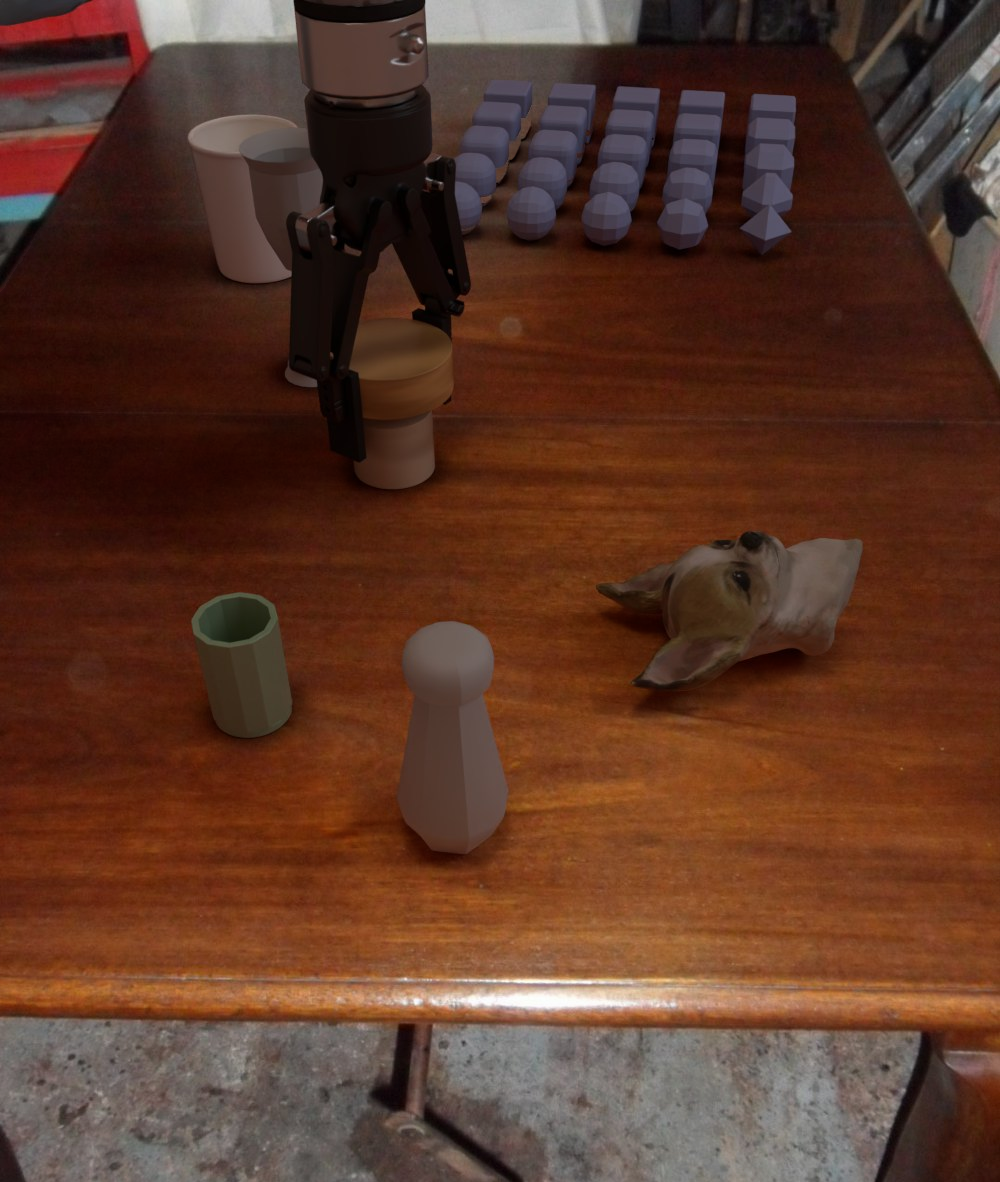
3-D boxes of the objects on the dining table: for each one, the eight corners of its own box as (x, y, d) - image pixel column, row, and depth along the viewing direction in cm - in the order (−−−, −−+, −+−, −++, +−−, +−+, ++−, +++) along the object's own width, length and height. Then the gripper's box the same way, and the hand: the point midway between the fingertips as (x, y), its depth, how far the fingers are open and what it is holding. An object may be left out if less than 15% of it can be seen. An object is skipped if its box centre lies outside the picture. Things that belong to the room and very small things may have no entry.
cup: (208, 692, 71) (187, 601, 66) (285, 677, 72) (269, 586, 67) (218, 745, 68) (196, 653, 63) (298, 728, 69) (283, 636, 64)
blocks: (788, 141, 137) (796, 95, 134) (787, 268, 113) (796, 215, 110) (491, 123, 142) (491, 78, 138) (428, 241, 118) (426, 190, 114)
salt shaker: (382, 849, 62) (361, 665, 53) (425, 774, 66) (413, 590, 57) (485, 880, 61) (482, 697, 52) (524, 802, 65) (527, 618, 56)
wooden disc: (315, 366, 86) (310, 327, 84) (435, 349, 88) (433, 310, 86) (340, 428, 80) (335, 388, 78) (468, 408, 82) (467, 368, 80)
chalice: (314, 343, 102) (287, 121, 90) (374, 365, 100) (356, 139, 87) (254, 378, 98) (217, 149, 86) (316, 402, 95) (287, 169, 83)
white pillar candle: (347, 452, 90) (340, 393, 86) (423, 440, 91) (420, 381, 88) (363, 495, 86) (357, 434, 82) (444, 482, 87) (441, 421, 84)
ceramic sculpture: (903, 572, 65) (635, 614, 64) (878, 688, 71) (633, 728, 70) (833, 468, 72) (592, 504, 71) (816, 581, 78) (594, 615, 77)
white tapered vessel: (332, 271, 113) (318, 137, 104) (237, 297, 109) (215, 160, 100) (285, 236, 119) (268, 107, 110) (193, 259, 115) (169, 127, 106)
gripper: (286, 154, 62) (330, 512, 78) (524, 53, 75) (521, 379, 91) (186, 126, 66) (249, 475, 81) (431, 34, 78) (443, 352, 94)
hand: (392, 424), depth 86 cm, fingers closed on wooden disc, 9 cm apart
